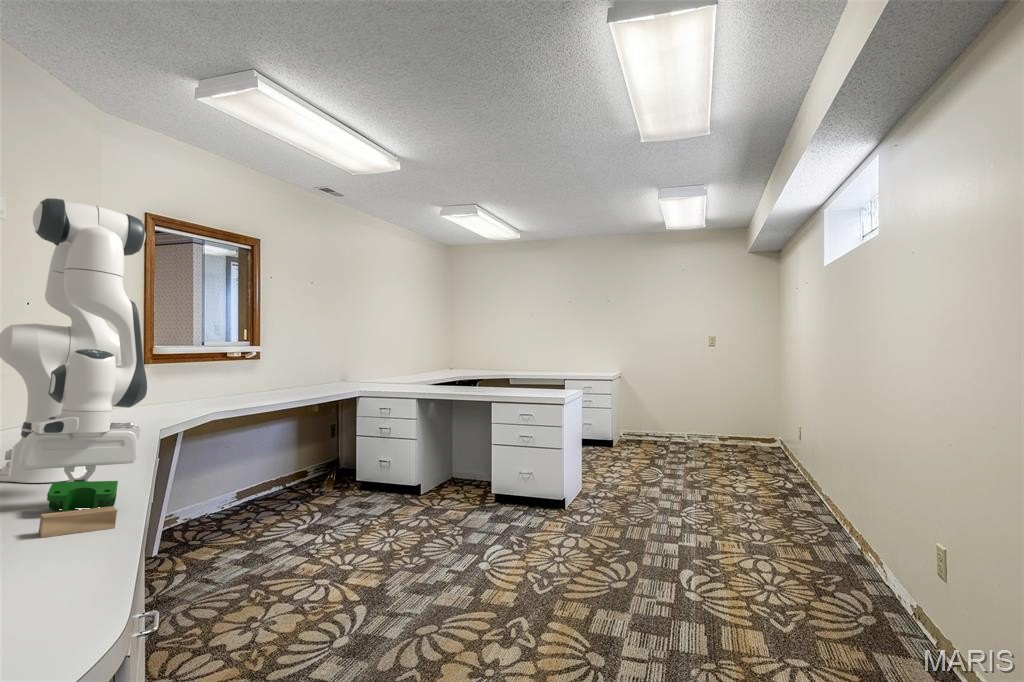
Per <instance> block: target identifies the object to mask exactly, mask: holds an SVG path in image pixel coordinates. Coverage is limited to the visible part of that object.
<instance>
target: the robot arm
mask: <svg viewBox="0 0 1024 682" xmlns="http://www.w3.org/2000/svg"><path fill="white" fill-rule="evenodd" d="M32 223H33V224H32V225H33V227H34V231H35V233H36V234H37V235H38V237H39V238H41V239H42V240H44V241H47V242H49V243H51V244H53V245H55V247H54V250H53V253H52V257H51V260H50V265H49V268H48V273H47V274H48V275H47V282H46V287H45V293H44V298H45V301H46V303H47V304H48V306H50V307H51V308H53V309H55V311H57V312H58V313H59V312H60V313H61V314H64V315H65V316H68V317H69V318H70V320H71V324H70V326H63V325H53V324H52V325H51V324H43V323H42V324H41V323H19V324H10V325H8V326H6V327H5V328H4V329H3V330H1V332H0V359H1V360H2V361H3V362H5V363H6V364H8V365H9V366H10V367H12V368H13V369H14V370H16V372H17V373H18V374H19V375H20V376H21V378H22V380H23V381H24V383H25V386H26V391H27V408H26V416H25V421H24V422H23V423H22V427H21V433H20V436H21V438H20V439H19V441H18V442H17V443H15V445H13V446H12V449H11V448H10V449H8V450H6V451H5V455H4V460H5V461H7V462H5V463H6V465H4V466H3V467H2V468H1V470H0V482H11V483H12V482H13V483H15V482H16V483H25V484H26V483H27V484H29V483H30V484H37V483H38V484H40V483H41V484H44V483H53V482H88V479H89V478H91V477H92V475H93V474H94V473H95V472H96V468H97V467H96V466H112V465H127V464H129V465H131V464H133V463H135V461H136V460H137V459H138V440H139V439H140V434H141V428H140V426H138V425H136V424H134V422H126V423H125V422H124V423H122V422H112V418H113V417H112V416H113V407H117V408H118V407H119V408H128V409H129V408H132V407H134V406H136V405H137V404H138V403H140V402H141V401H143V400H144V399H145V398H146V396H147V391H148V380H147V374H146V368H145V365H144V364H145V363H144V352H143V344H142V343H143V342H142V330H141V323H140V321H141V320H140V315H139V310H138V307H137V305H136V302H135V301H133V300H131V299H130V298H129V297H128V295H127V293H126V291H125V287H124V276H125V256H133V255H135V254H137V253H139V252H140V251H141V250H142V247H143V246H144V244H145V240H146V236H147V234H146V231H145V229H146V228H145V227H146V226H145V225H144V223H143V221H142V220H141V219H139V218H138V217H136V216H133V215H131V214H129V213H126V214H124V213H121V212H119V211H116V210H114V209H110V208H106V207H103V206H100V205H99V206H98V205H95V206H94V205H91V204H86V203H80V202H73V201H65V200H64V199H62V198H53V197H52V198H45V199H42V200H41V201H40V202H39V204H38V205H37V207H36V208H35V210H34V211H33V214H32ZM106 321H107V322H108V323H110V324H111V325H113V327H114V328H115V329H116V331H117V332H118V334H117V333H116V332H115V331H114V330H113V329H112V328H111V327H110V326H109V325H108V324H107V322H106ZM120 363H121V364H120Z"/></svg>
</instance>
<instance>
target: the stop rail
mask: <svg viewBox="0 0 1024 682" xmlns="http://www.w3.org/2000/svg"><path fill="white" fill-rule="evenodd" d="M117 513H118V509H117V508H116V507H115V506H109V507H100V508H91V509H82V510H69V511H63V512H62V511H53V512H47V513H41V514H40V516H39V518H40V519H39V527H38V533H39V534H38V536H39V537H40V538H41V539H43V538H49V537H57V536H58V535H59V536H65V535H64V534H66V535H71V534H70V533H73V534H79V533H78V532H81V533H86V532H95V531H102V530H109V529H114V528H116V523H117Z"/></svg>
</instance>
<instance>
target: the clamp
mask: <svg viewBox="0 0 1024 682" xmlns="http://www.w3.org/2000/svg"><path fill="white" fill-rule="evenodd" d="M118 485H119V480H101V481H100V480H99V481H98V480H97V481H96V480H95V481H88V482H69V481H59V482H51V485H50V488H49V489H48V492H47V495H46V496H47V497H46V501H47V502H48V509H50V510H51V511H52V510H59V509H62V511H61V512H63V511H72V509H75V508H90V509H91V508H98V507H109V506H113V507H115V504H116V499H117V491H118Z"/></svg>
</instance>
